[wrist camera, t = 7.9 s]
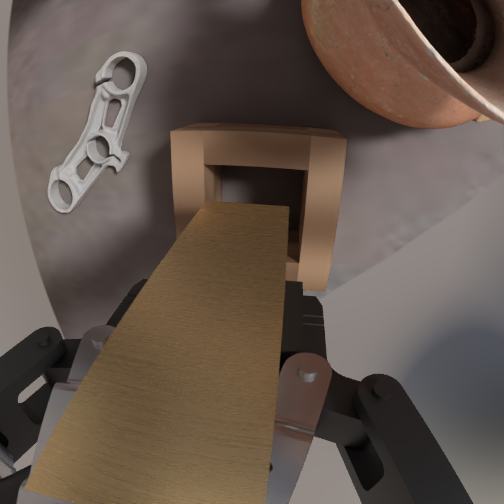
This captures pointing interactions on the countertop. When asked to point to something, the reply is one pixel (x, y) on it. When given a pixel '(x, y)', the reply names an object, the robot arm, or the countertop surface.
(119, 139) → the bracket
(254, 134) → the walnut block
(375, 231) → the countertop surface
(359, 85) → the ceramic jug
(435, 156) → the countertop surface
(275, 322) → the tan wooden square peg
